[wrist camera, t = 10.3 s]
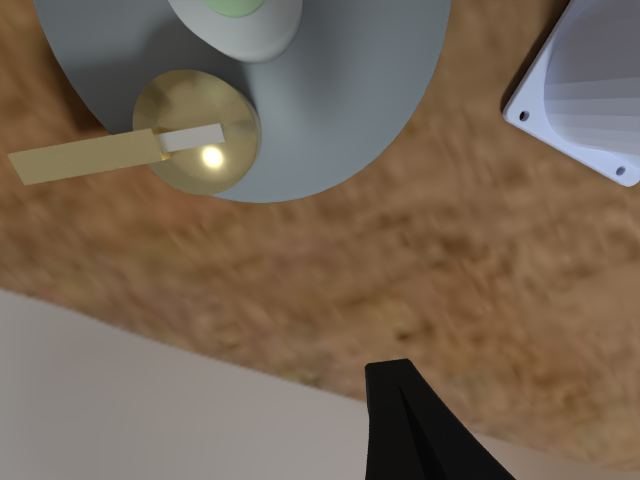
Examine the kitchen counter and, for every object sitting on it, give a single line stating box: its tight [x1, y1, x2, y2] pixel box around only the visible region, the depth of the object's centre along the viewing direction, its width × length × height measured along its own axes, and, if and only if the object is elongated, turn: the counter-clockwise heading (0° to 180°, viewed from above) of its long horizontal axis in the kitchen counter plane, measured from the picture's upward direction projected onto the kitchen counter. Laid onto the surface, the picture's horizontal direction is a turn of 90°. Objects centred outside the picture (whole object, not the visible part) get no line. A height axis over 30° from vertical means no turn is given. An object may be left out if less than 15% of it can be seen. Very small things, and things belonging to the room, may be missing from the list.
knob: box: [7, 69, 262, 195], centre depth 13 cm, size 9×5×3 cm, turn 99°
